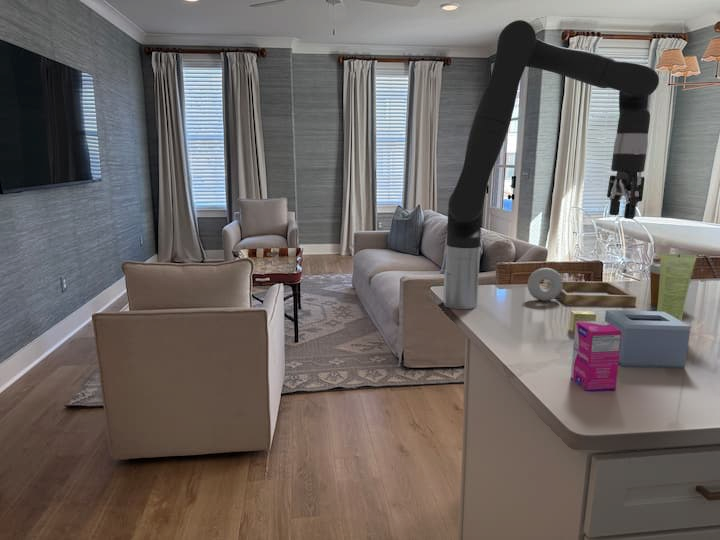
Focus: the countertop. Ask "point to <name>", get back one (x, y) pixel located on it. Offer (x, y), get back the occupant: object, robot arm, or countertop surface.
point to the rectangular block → (580, 318)
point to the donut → (551, 291)
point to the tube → (674, 282)
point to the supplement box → (596, 355)
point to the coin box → (650, 338)
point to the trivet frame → (617, 297)
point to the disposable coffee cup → (654, 282)
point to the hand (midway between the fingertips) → (621, 216)
